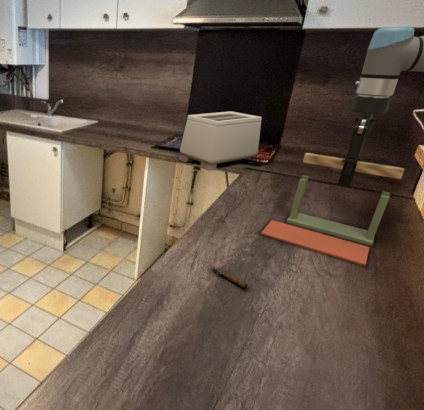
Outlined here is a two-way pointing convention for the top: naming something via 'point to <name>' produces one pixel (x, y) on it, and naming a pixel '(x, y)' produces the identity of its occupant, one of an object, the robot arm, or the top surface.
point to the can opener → (231, 278)
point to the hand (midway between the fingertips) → (344, 184)
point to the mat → (317, 242)
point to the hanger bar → (361, 166)
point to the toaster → (220, 138)
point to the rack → (334, 227)
